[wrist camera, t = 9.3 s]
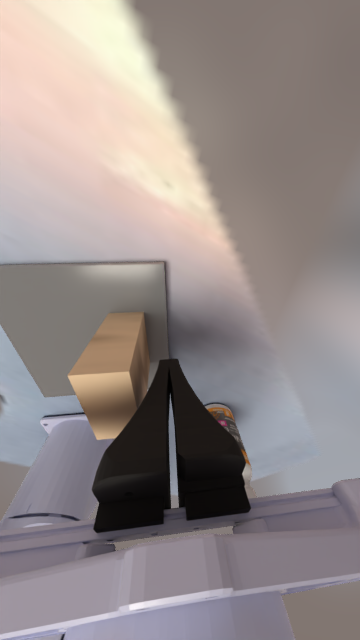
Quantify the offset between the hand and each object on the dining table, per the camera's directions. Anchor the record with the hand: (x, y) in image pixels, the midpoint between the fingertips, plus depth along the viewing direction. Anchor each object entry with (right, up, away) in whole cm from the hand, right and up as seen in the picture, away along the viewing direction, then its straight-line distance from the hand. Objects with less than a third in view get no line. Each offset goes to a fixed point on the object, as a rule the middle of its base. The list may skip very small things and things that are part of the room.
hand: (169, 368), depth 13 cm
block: (-4, +2, +3) cm, 5 cm away
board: (-7, +2, +4) cm, 9 cm away
